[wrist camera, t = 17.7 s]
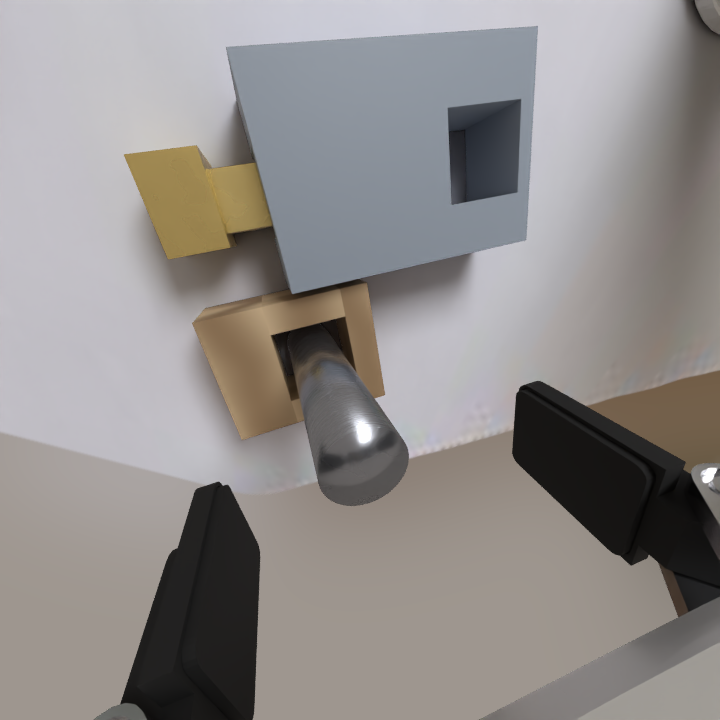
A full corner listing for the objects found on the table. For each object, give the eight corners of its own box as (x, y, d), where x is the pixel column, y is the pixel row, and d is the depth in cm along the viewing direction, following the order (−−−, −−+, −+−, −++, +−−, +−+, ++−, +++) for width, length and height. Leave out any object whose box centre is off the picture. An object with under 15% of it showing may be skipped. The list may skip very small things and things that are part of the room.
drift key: (374, 142, 19) (399, 119, 15) (383, 217, 21) (408, 213, 17) (153, 172, 17) (123, 154, 13) (186, 255, 18) (168, 259, 15)
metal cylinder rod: (325, 316, 22) (403, 415, 10) (334, 355, 24) (412, 486, 11) (282, 327, 22) (307, 447, 9) (293, 366, 23) (329, 518, 10)
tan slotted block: (350, 275, 22) (366, 282, 18) (367, 372, 25) (385, 395, 21) (205, 308, 20) (192, 323, 16) (245, 409, 23) (241, 440, 19)
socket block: (474, 75, 19) (537, 26, 15) (476, 240, 23) (526, 240, 19) (236, 99, 16) (225, 46, 12) (286, 282, 21) (292, 293, 16)
